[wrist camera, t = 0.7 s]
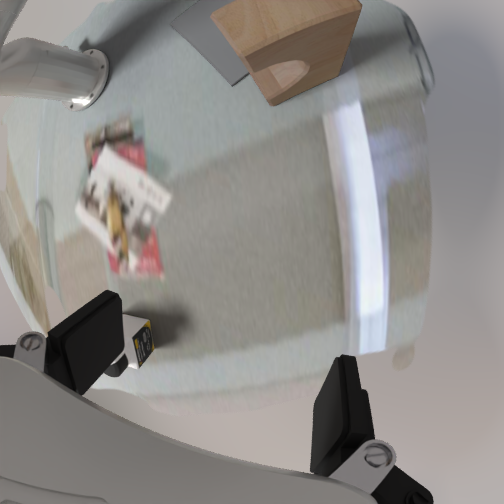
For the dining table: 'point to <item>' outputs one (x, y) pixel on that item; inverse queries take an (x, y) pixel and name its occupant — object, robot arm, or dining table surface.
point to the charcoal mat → (210, 39)
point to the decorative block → (289, 41)
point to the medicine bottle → (133, 345)
